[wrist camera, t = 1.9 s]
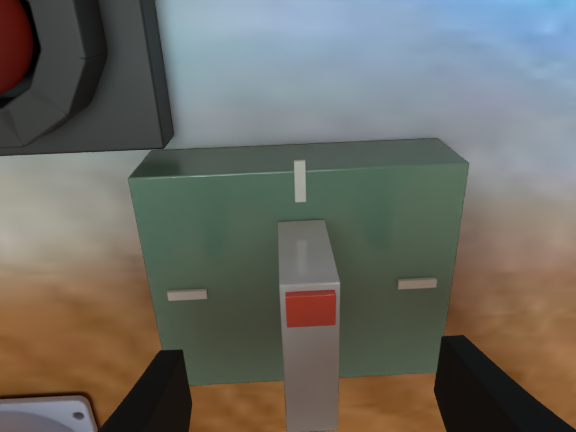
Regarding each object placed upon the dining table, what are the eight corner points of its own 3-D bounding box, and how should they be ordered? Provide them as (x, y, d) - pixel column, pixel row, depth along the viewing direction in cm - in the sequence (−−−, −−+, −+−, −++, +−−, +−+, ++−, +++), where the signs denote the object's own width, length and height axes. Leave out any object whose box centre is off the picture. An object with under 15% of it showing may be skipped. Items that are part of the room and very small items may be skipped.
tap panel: (417, 331, 21) (439, 382, 18) (183, 343, 21) (169, 396, 18) (439, 128, 17) (473, 153, 14) (148, 141, 17) (123, 169, 14)
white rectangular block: (324, 346, 17) (338, 437, 14) (283, 348, 17) (287, 440, 14) (324, 218, 15) (341, 287, 11) (277, 221, 15) (278, 291, 11)
